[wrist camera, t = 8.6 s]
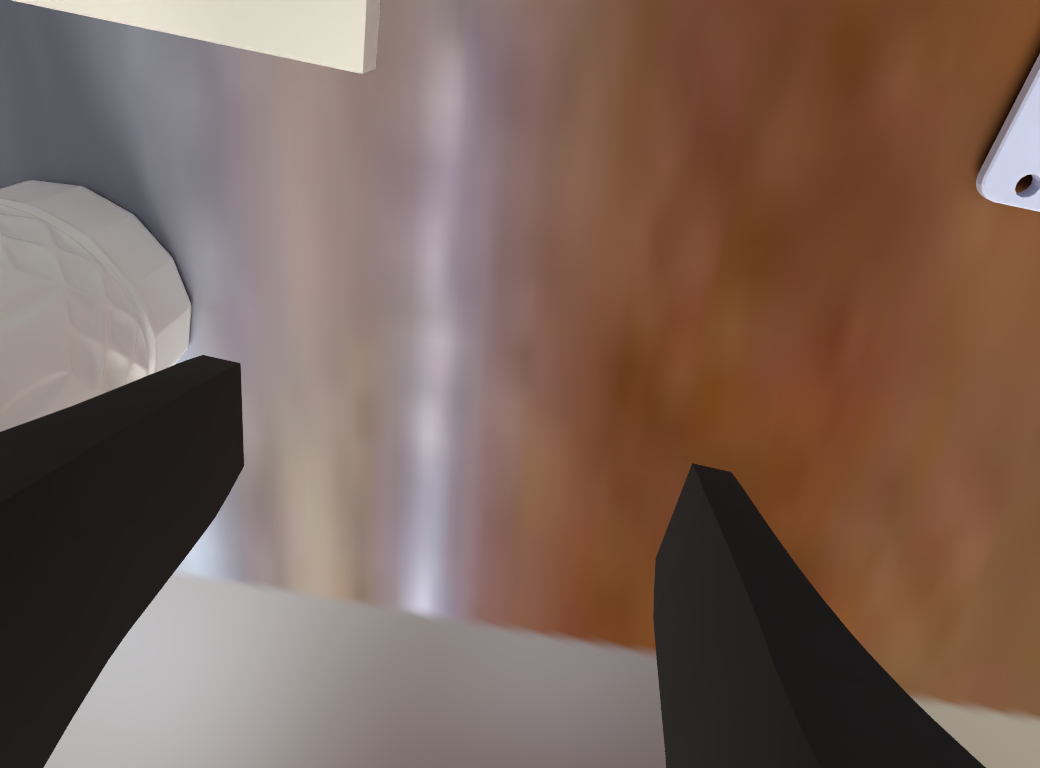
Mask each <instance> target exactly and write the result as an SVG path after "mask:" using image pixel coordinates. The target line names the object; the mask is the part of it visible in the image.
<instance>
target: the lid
mask: <svg viewBox="0 0 1040 768" xmlns="http://www.w3.org/2000/svg"><path fill="white" fill-rule="evenodd" d="M12 1H17V2H22V3H27V4H31V5H36V6H41V7H46V8H50V9H55V10H60V11H65V12H70V13H74V14H79V15H84V16H89V17H93V18H98V19H103V20H108V21H112V22H117V23H122V24H127V25H132V26H136V27H141V28H146V29H151V30H155V31H160V32H165V33H170V34H175V35H179V36H184V37H189V38H194V39H198V40H203V41H208V42H213V43H218V44H222V45H227V46H232V47H237V48H241V49H246V50H251V51H256V52H261V53H265V54H270V55H275V56H280V57H284V58H289V59H294V60H299V61H304V62H308V63H313V64H318V65H323V66H327V67H332V68H337V69H342V70H346V71H351V72H356V73H361V74H364V73H366V72H369V71H371V70H374V69H376V59H377V43H378V27H379V11H380V0H12Z"/></svg>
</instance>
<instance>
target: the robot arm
mask: <svg viewBox="0 0 1040 768" xmlns="http://www.w3.org/2000/svg"><path fill="white" fill-rule="evenodd" d="M1026 175H1032V177H1033V179H1032V183H1031V185H1030V186H1029V187H1028V188H1027V189H1026V190H1024V191H1022V192H1020V193H1016V191H1015V187H1016V184H1017V182H1018V181H1019V180H1020V179H1021V178H1022V177H1024V176H1026ZM976 186H977V190H978V191H979V193H980V194H981V195H982V196H983V197H985V198H987V199H989V200H991V201H993V202H996V203H1001V204H1006V205H1010V206H1015V207H1020V208H1025V209H1029V210H1034V211H1039V212H1040V54H1039V56H1038V58H1037V60H1036V62H1035V64H1034V66H1033V68H1032V70H1031V71H1030V73H1029V75H1028V77H1027V79H1026V81H1025V83H1024V85H1023V87H1022V89H1021V91H1020V93H1019V95H1018V97H1017V99H1016V101H1015V103H1014V105H1013V107H1012V109H1011V111H1010V112H1009V114H1008V116H1007V118H1006V120H1005V122H1004V124H1003V126H1002V128H1001V130H1000V132H999V134H998V136H997V138H996V140H995V142H994V144H993V146H992V148H991V150H990V152H989V154H988V155H987V157H986V159H985V161H984V163H983V165H982V167H981V169H980V171H979V173H978V176H977V180H976ZM243 467H244V453H243V424H242V395H241V366H240V363H236V362H232V361H227V360H223V359H218V358H214V357H209V356H205V355H202V356H199V357H196V358H192V359H189V360H186V361H184V362H181V363H178V364H176V365H173V366H170V367H168V368H165V369H163V370H160V371H158V372H155V373H153V374H150V375H148V376H145V377H143V378H141V379H138V380H136V381H133V382H131V383H128V384H126V385H123V386H121V387H118V388H116V389H113V390H111V391H108V392H106V393H103V394H101V395H98V396H96V397H93V398H91V399H88V400H86V401H83V402H81V403H78V404H76V405H73V406H70V407H68V408H65V409H62V410H59V411H57V412H54V413H51V414H48V415H46V416H43V417H40V418H37V419H34V420H32V421H29V422H26V423H23V424H21V425H18V426H15V427H12V428H9V429H7V430H4V431H1V432H0V768H43V767H44V766H45V764H46V762H47V761H48V759H49V757H50V755H51V754H52V752H53V750H54V749H55V747H56V745H57V743H58V742H59V740H60V738H61V737H62V735H63V733H64V731H65V730H66V728H67V726H68V725H69V723H70V721H71V720H72V718H73V716H74V714H75V713H76V711H77V710H78V708H79V706H80V705H81V703H82V702H83V700H84V698H85V697H86V695H87V694H88V692H89V690H90V689H91V687H92V686H93V684H94V682H95V681H96V679H97V677H98V676H99V674H100V672H101V671H102V669H103V668H104V666H105V664H106V663H107V661H108V659H109V658H110V657H111V655H112V654H113V653H114V651H115V650H116V648H117V647H118V645H119V644H120V643H121V641H122V639H123V638H124V637H125V636H126V634H127V633H128V631H129V630H130V629H131V627H132V626H133V625H134V623H135V622H136V621H137V620H138V618H139V617H140V616H141V614H142V613H143V612H144V611H145V609H146V608H147V607H148V605H149V604H150V603H151V601H152V600H153V599H154V598H155V596H156V595H157V594H158V592H159V591H160V590H161V588H162V587H163V586H164V584H165V583H166V582H167V581H168V579H169V578H170V577H171V575H172V574H173V573H174V571H175V570H176V569H177V568H178V566H179V565H180V564H181V562H182V561H183V560H184V558H185V557H186V556H187V555H188V553H189V552H190V551H191V549H192V548H193V547H194V545H195V544H196V543H197V541H198V540H199V539H200V537H201V536H202V535H203V533H204V532H205V531H206V529H207V528H208V527H209V525H210V524H211V522H212V521H213V520H214V518H215V517H216V515H217V513H218V512H219V510H220V508H221V506H222V505H223V503H224V501H225V500H226V498H227V496H228V495H229V493H230V491H231V489H232V487H233V485H234V483H235V482H236V480H237V478H238V476H239V474H240V472H241V470H242V469H243ZM653 618H654V631H655V643H656V655H657V667H658V677H659V689H660V699H661V711H662V722H663V731H664V732H663V733H664V743H665V755H666V768H986V767H984V766H983V765H982V764H981V763H980V762H979V761H978V760H976V759H975V758H974V757H973V756H972V755H971V754H970V753H969V752H968V751H967V750H966V749H965V748H964V747H962V746H961V745H960V744H959V743H958V742H957V741H956V740H955V739H954V738H953V737H952V736H951V735H950V734H948V733H947V732H946V731H945V730H944V729H943V728H942V727H941V726H940V725H939V724H938V723H937V722H935V721H934V720H933V719H932V718H931V717H930V716H929V715H928V714H927V713H926V712H925V711H924V710H923V709H922V708H921V707H920V706H919V705H918V704H917V703H916V702H915V701H914V700H913V699H912V698H911V697H910V696H909V695H908V694H907V693H906V692H905V691H904V690H903V689H902V688H901V687H900V686H899V685H898V684H897V683H896V681H895V680H894V679H893V678H892V677H891V676H890V675H889V674H888V673H887V672H886V671H885V670H884V669H883V668H882V667H881V666H880V665H879V664H878V662H877V661H876V660H875V659H874V658H873V657H872V656H871V655H870V654H869V653H868V652H867V651H866V650H865V648H864V647H863V646H862V645H861V644H860V643H859V642H858V641H857V639H856V638H855V637H854V636H853V635H852V634H851V633H850V631H849V630H848V629H847V628H846V627H845V625H844V624H843V623H842V622H841V621H840V619H839V618H838V617H837V616H836V614H835V613H834V612H833V611H832V610H831V608H830V607H829V606H828V605H827V604H826V602H825V601H824V600H823V599H822V597H821V596H820V595H819V594H818V592H817V591H816V590H815V588H814V587H813V586H812V585H811V583H810V582H809V581H808V579H807V578H806V577H805V576H804V574H803V573H802V572H801V570H800V569H799V568H798V566H797V565H796V564H795V562H794V561H793V559H792V558H791V557H790V555H789V554H788V553H787V551H786V550H785V548H784V547H783V546H782V544H781V543H780V541H779V540H778V539H777V537H776V536H775V534H774V533H773V531H772V530H771V529H770V527H769V526H768V524H767V523H766V521H765V520H764V518H763V517H762V516H761V514H760V513H759V511H758V510H757V508H756V507H755V505H754V504H753V502H752V501H751V500H750V498H749V497H748V495H747V494H746V492H745V491H744V489H743V488H742V486H741V485H740V484H739V482H738V481H737V479H736V478H735V477H734V475H733V474H732V473H731V472H728V471H724V470H719V469H715V468H710V467H706V466H701V465H697V464H692V465H691V468H690V471H689V473H688V476H687V479H686V481H685V484H684V486H683V489H682V492H681V494H680V497H679V499H678V502H677V505H676V507H675V510H674V512H673V515H672V518H671V520H670V523H669V525H668V528H667V531H666V533H665V536H664V538H663V541H662V544H661V546H660V549H659V551H658V554H657V557H656V565H655V585H654V614H653Z"/></svg>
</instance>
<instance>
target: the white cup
mask: <svg viewBox="0 0 1040 768" xmlns="http://www.w3.org/2000/svg"><path fill="white" fill-rule="evenodd" d="M190 320H191V303H190V300H189V297H188V295H187V292H186V290H185V287H184V285H183V282H182V280H181V277H180V275H179V272H178V270H177V267H176V265H175V262H174V260H173V258H172V257H171V255H170V254H169V253H168V252H167V251H166V250H165V249H164V248H163V246H162V245H161V244H160V243H159V242H158V241H157V240H156V239H155V237H154V236H153V235H152V234H151V233H150V232H149V231H148V230H147V229H146V227H145V226H144V225H143V224H142V223H141V222H140V221H139V220H138V218H137V217H136V216H135V215H133V214H132V213H130V212H128V211H126V210H125V209H123V208H121V207H119V206H118V205H116V204H114V203H112V202H110V201H109V200H107V199H105V198H103V197H101V196H100V195H98V194H96V193H94V192H93V191H91V190H89V189H87V188H85V187H83V186H77V185H69V184H60V183H52V182H44V181H36V180H29V181H25V182H21V183H18V184H14V185H11V186H8V187H4V188H1V189H0V432H1V431H4V430H7V429H9V428H12V427H15V426H18V425H21V424H23V423H26V422H29V421H32V420H34V419H37V418H40V417H43V416H46V415H48V414H51V413H54V412H57V411H59V410H62V409H65V408H68V407H70V406H73V405H76V404H78V403H81V402H83V401H86V400H88V399H91V398H93V397H96V396H98V395H101V394H103V393H106V392H108V391H111V390H113V389H116V388H118V387H121V386H123V385H126V384H128V383H131V382H133V381H136V380H138V379H141V378H143V377H145V376H148V375H150V374H153V373H155V372H158V371H160V370H163V369H165V368H168V367H170V366H173V365H175V364H176V363H177V362H178V360H179V359H180V358H181V357H182V355H183V354H184V353H185V351H186V350H187V349H188V347H189V334H190Z"/></svg>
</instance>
